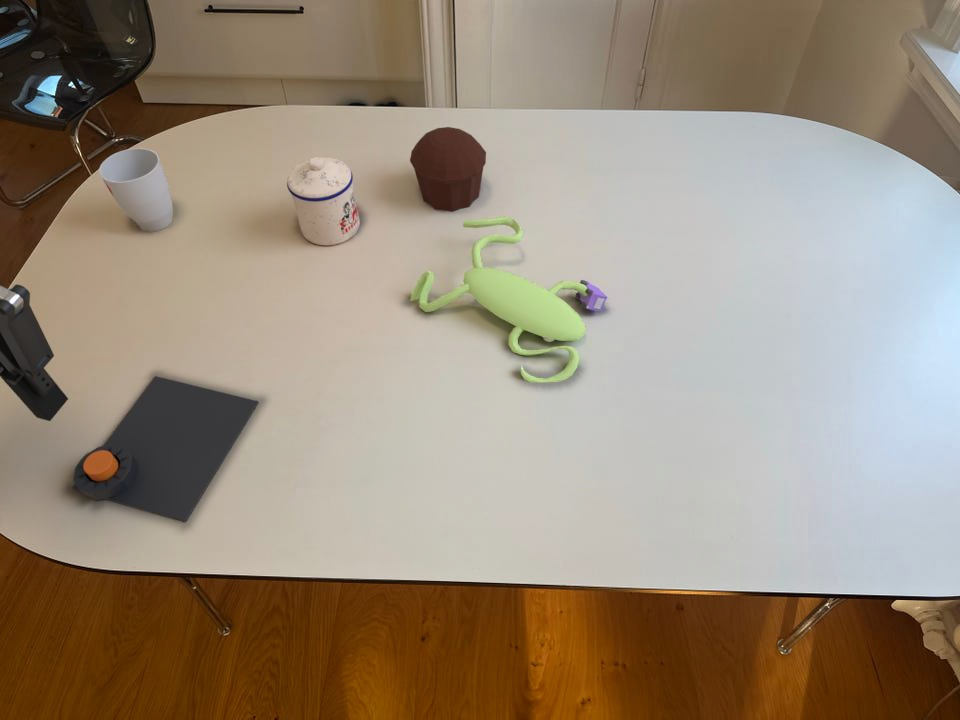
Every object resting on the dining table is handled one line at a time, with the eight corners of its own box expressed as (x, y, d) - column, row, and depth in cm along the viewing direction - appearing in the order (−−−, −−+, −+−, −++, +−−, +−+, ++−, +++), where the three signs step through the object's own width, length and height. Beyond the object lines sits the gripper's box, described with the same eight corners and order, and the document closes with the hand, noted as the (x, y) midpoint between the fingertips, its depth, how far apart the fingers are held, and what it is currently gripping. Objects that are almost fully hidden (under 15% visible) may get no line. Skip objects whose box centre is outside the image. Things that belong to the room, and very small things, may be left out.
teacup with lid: (356, 248, 102) (343, 181, 93) (294, 247, 102) (274, 180, 93) (368, 196, 109) (356, 129, 100) (310, 195, 110) (293, 129, 101)
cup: (138, 203, 109) (111, 147, 101) (190, 204, 109) (166, 148, 101) (120, 238, 104) (89, 182, 96) (174, 238, 104) (148, 182, 96)
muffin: (498, 205, 107) (498, 148, 99) (430, 225, 104) (424, 168, 97) (469, 163, 114) (467, 107, 106) (404, 180, 112) (397, 124, 104)
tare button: (83, 477, 75) (76, 470, 74) (100, 454, 77) (94, 447, 76) (107, 484, 75) (101, 477, 73) (124, 461, 76) (118, 453, 75)
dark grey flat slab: (74, 498, 77) (61, 484, 74) (159, 382, 87) (150, 367, 84) (187, 530, 74) (177, 517, 72) (261, 408, 84) (254, 392, 82)
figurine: (485, 229, 104) (484, 198, 99) (637, 316, 92) (644, 285, 88) (394, 297, 95) (389, 266, 91) (548, 402, 83) (551, 373, 79)
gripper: (0, 191, 50) (134, 392, 68) (-144, 164, 52) (22, 364, 71) (-82, 261, 45) (86, 456, 63) (-235, 227, 48) (-32, 424, 66)
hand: (52, 408), depth 67 cm, fingers closed
